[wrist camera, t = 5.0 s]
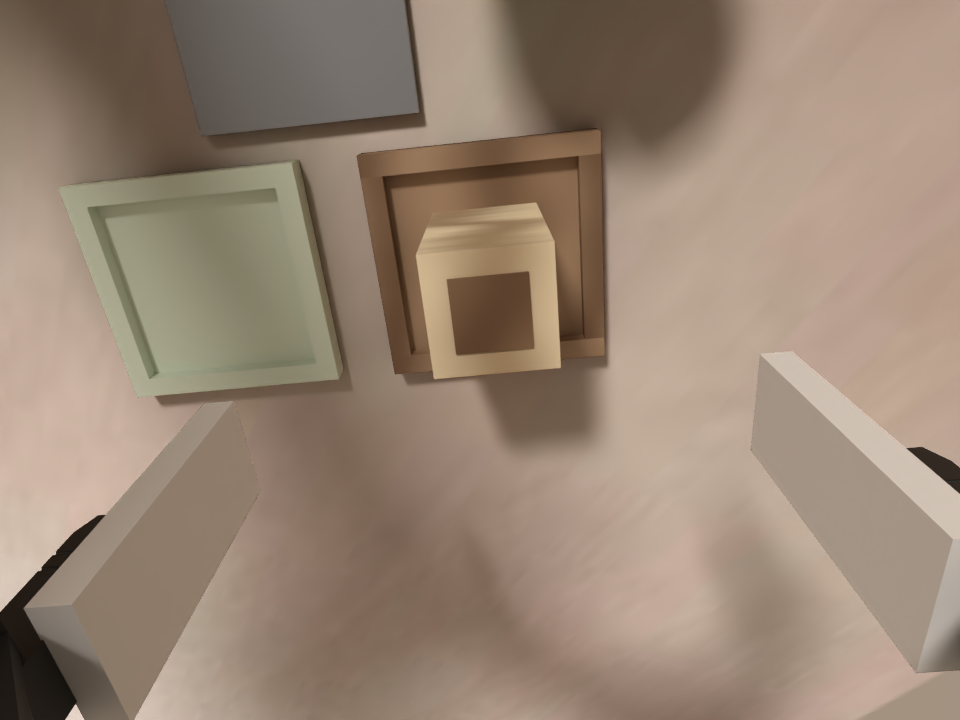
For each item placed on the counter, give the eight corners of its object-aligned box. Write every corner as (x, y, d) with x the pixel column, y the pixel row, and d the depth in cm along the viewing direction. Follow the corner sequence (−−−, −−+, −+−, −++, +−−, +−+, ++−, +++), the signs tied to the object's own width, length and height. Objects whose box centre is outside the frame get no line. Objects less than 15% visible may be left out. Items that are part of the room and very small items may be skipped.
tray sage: (148, 387, 34) (136, 397, 32) (74, 183, 29) (58, 187, 28) (343, 369, 33) (338, 379, 32) (298, 159, 29) (291, 162, 27)
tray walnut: (397, 364, 33) (395, 374, 32) (361, 153, 28) (356, 155, 27) (600, 346, 32) (604, 355, 31) (596, 128, 28) (600, 129, 27)
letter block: (445, 313, 31) (434, 383, 24) (432, 212, 29) (415, 255, 22) (542, 304, 31) (561, 372, 24) (536, 202, 29) (554, 241, 21)
